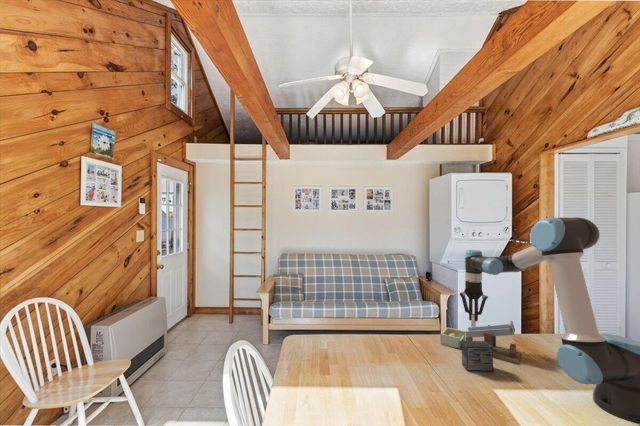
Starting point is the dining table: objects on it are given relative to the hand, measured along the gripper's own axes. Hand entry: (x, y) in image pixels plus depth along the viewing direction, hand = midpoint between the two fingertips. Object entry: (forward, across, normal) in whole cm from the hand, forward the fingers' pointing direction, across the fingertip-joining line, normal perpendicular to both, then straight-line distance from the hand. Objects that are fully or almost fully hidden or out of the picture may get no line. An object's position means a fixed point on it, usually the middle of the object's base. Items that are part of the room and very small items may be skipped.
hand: (473, 327), depth 154 cm
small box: (+8, -7, +28) cm, 29 cm away
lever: (-1, -8, +5) cm, 10 cm away
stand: (+7, -9, +8) cm, 14 cm away
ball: (+5, +8, +8) cm, 12 cm away
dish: (+7, +8, +8) cm, 13 cm away
